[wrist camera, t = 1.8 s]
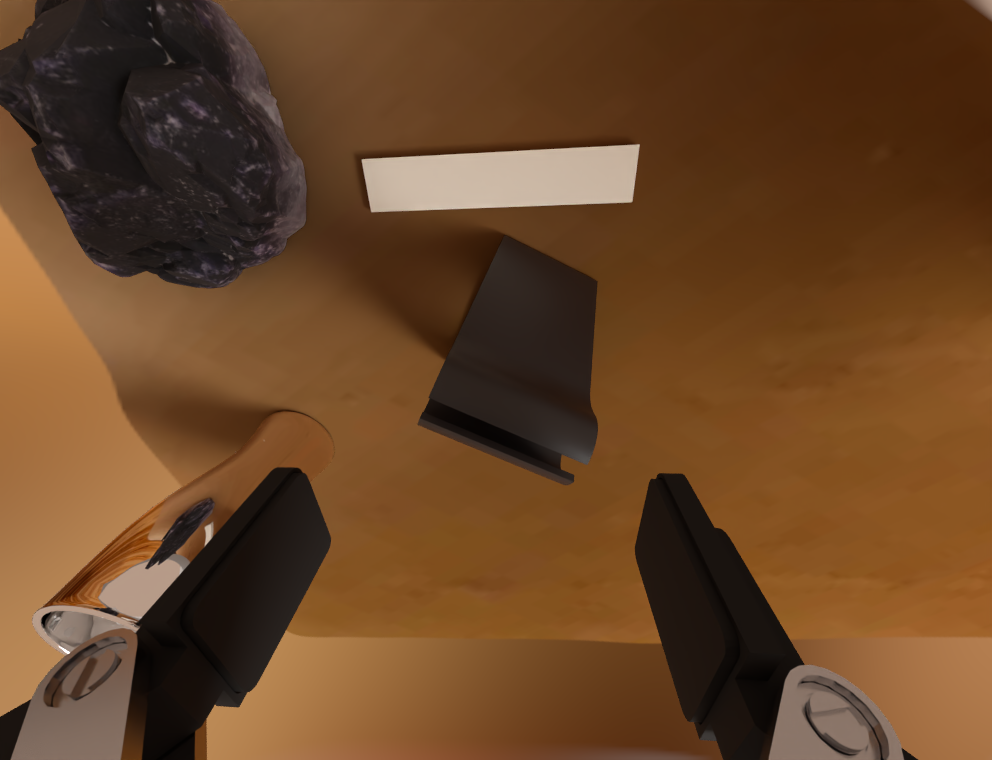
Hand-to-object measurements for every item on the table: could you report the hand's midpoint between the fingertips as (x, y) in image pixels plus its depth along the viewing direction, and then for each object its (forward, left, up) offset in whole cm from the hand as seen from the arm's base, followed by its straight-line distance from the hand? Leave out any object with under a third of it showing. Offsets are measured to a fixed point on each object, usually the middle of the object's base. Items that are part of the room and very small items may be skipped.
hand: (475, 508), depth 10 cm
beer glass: (+17, +10, -15) cm, 25 cm away
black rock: (+16, -10, -15) cm, 25 cm away
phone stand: (-1, 0, -15) cm, 15 cm away
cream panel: (0, -8, -15) cm, 17 cm away
